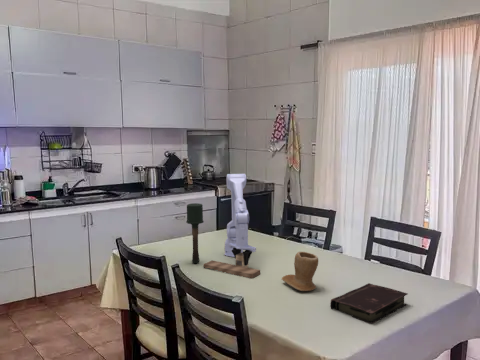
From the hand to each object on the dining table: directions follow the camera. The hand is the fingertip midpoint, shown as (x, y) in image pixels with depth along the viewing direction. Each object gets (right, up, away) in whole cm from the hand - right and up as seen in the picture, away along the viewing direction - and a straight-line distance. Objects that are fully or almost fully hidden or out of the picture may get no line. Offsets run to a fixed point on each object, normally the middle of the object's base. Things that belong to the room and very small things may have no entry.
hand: (242, 264), depth 211 cm
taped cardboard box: (0, -2, 0) cm, 2 cm away
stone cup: (+25, -5, -25) cm, 36 cm away
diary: (+48, -8, -46) cm, 67 cm away
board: (-5, -3, -4) cm, 7 cm away
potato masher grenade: (-23, -1, +8) cm, 25 cm away
